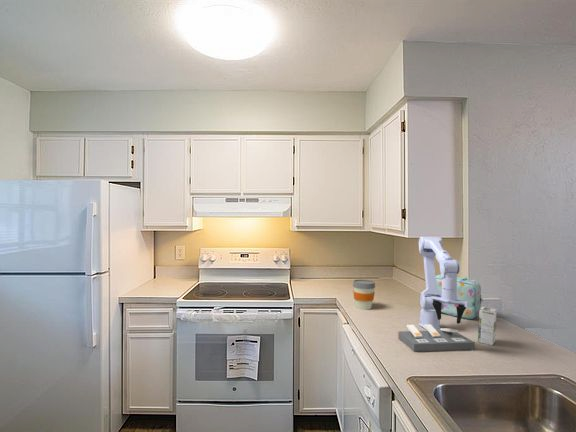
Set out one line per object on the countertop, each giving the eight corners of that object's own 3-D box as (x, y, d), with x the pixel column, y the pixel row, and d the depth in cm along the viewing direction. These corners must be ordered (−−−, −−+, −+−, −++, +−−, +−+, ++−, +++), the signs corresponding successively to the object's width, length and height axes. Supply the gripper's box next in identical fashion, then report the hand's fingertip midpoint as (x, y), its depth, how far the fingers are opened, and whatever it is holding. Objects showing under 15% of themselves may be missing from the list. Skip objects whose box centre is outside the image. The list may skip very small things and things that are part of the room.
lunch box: (484, 318, 178) (485, 278, 177) (477, 322, 171) (479, 280, 170) (433, 307, 197) (434, 270, 197) (426, 310, 190) (427, 272, 190)
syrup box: (480, 338, 149) (481, 306, 149) (495, 342, 145) (496, 308, 145) (477, 342, 145) (478, 308, 145) (493, 345, 141) (494, 311, 141)
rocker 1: (406, 326, 147) (406, 324, 147) (413, 326, 148) (413, 324, 147) (415, 337, 140) (415, 335, 139) (422, 337, 140) (422, 335, 140)
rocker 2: (440, 330, 149) (440, 328, 149) (447, 330, 150) (447, 328, 150) (451, 332, 141) (451, 329, 142) (458, 331, 142) (458, 329, 142)
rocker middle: (423, 326, 148) (423, 324, 148) (430, 325, 149) (430, 324, 148) (433, 337, 141) (433, 335, 140) (440, 337, 141) (440, 335, 141)
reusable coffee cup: (373, 311, 186) (374, 284, 186) (351, 309, 190) (351, 282, 190) (375, 305, 198) (376, 280, 197) (354, 303, 202) (354, 278, 201)
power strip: (398, 338, 148) (398, 329, 147) (453, 336, 151) (453, 328, 151) (414, 351, 134) (414, 342, 134) (474, 349, 137) (474, 340, 137)
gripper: (428, 287, 143) (427, 319, 143) (465, 292, 133) (464, 327, 133) (434, 285, 148) (433, 316, 148) (470, 290, 138) (469, 323, 138)
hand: (448, 321), depth 141 cm, fingers open, 7 cm apart
